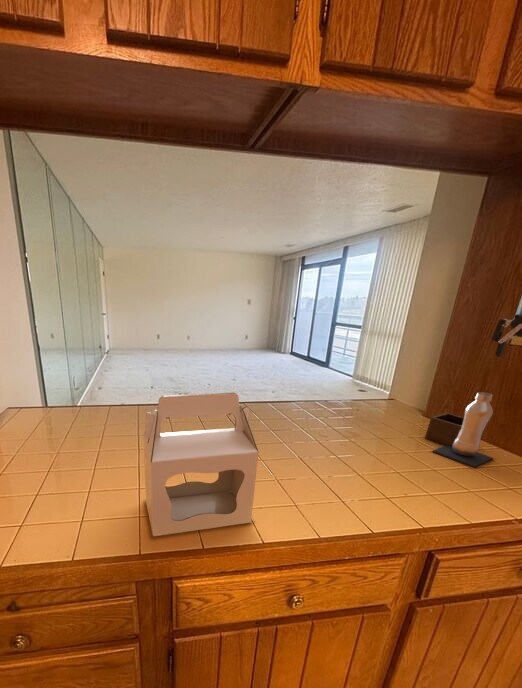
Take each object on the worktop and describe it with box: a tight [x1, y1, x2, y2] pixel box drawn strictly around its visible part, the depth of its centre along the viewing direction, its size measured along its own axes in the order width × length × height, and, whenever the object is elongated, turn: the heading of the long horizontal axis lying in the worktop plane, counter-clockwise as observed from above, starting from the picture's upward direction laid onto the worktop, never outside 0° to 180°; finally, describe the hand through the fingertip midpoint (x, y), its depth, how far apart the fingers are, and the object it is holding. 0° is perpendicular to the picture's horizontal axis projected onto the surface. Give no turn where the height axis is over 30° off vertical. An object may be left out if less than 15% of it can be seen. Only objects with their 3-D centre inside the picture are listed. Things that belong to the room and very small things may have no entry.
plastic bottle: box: [452, 391, 494, 456], centre depth 107 cm, size 6×7×20 cm
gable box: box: [142, 392, 259, 537], centre depth 74 cm, size 22×13×28 cm, turn 104°
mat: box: [432, 445, 494, 469], centre depth 111 cm, size 12×12×1 cm
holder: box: [424, 412, 464, 446], centre depth 121 cm, size 11×10×8 cm
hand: (517, 359), depth 97 cm, fingers open, 8 cm apart
